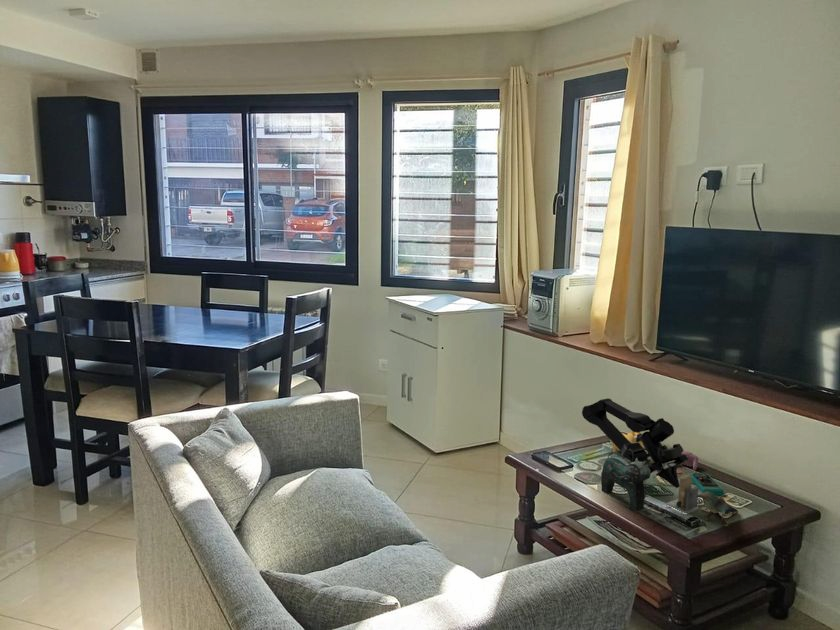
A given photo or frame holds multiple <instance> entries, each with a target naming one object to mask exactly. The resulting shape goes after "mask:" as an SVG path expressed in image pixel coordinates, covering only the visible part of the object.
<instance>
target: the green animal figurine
mask: <svg viewBox="0 0 840 630" xmlns="http://www.w3.org/2000/svg"><path fill="white" fill-rule="evenodd" d="M628 450H629V451H631V452H632V450H631V449H628ZM628 450H626V452H627V451H628ZM613 454H617V455H615V456H611V455H613ZM632 454H633V452H632ZM610 456H611V457H610ZM648 465H649V464H648V461H647V462H646V461H644V462H639V461H638V459H637V458H636V459H635V461H634V462H633V459H632V461H629V460H628V459H626V458H624V457H623V456H622V455H621V452H620V453H619V452H618V451H617V452H613V451H611V452H610V453H609V454H608V456H607V459H606V460H604V462H603V466H602V469H601V473H600V477H601V478H600V483H601V485H600V486H601V492H603V493H604V494H606V495H609V494H612V493H613V489H614V486H615V484H617V485H618V486H619V487H620V488H623V489H625V490H626V492H627V494H628V497H629V508H630V509H633V510H634V511H636V512H637V511H638V512H639V511H642V510H644V509H645V507H644V506H645V499H646V498H645V497H646V495H645V482H644V481H647V480H648V479H650V477H651V475H650V473H651V471H650V468H649V467H648ZM651 474H652V473H651Z"/></svg>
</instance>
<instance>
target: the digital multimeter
mask: <svg viewBox="0 0 840 630" xmlns="http://www.w3.org/2000/svg"><path fill="white" fill-rule="evenodd" d="M689 476H692V483H693V484H694V485H695V487H698V488H699V489H698V491H700V493H701V494H702V493H704V492H706V491H709V492H711V493H713V494H714V495H716V496H717V497H720V496H724V492H725V491H724V489H723V488H722V487H721V486H720V485H719V484H718V483H717V482H716V481H715V480H714V479H713V478H712V477H711V476H710V474H708V473H705V472H704V473H703V472H694V473H690V474H689Z"/></svg>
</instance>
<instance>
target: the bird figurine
mask: <svg viewBox="0 0 840 630" xmlns="http://www.w3.org/2000/svg"><path fill="white" fill-rule="evenodd" d="M695 497H698V498H700V499H701V498H702V502H703V505H705V507H706V508H707V509H708V510H709V512H708V513H707V515H706V516H705V518H704V519H705V520H706V521H709V520H710V519H711V517H712V516H713V517H714V518H716V519H717V520H718V522H719V523H720V525H722V526H724V527H725V528H726V527H727V526H729V523H728V522H727V520H726V519H725V518H724V515H728V514H730V513H732V514H736V513H738V512H739V510H738V509H736V508H735V507H734V506H731V505H730V504H729V503H728V502H726V501H725V499H724V498H722V497H720V496H716V495H714V494H713V493H711V492H709V491H706V492H704V493H702V492H701V493H700V494H698V495H697V496H695Z"/></svg>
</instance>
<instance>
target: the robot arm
mask: <svg viewBox="0 0 840 630" xmlns="http://www.w3.org/2000/svg"><path fill="white" fill-rule="evenodd" d="M607 413H608V414H609V415H612V416H614V417H615V418H617V419H619V420H620V421H623V422H624V423H625V425H626V427H627V428H628V429H630V431H631V430H632V431H633V432H635V433H637V432H640V433H641V432H643V433H641V434H638V435H637V438H636V442H637V443H631V442H630V441H629V440H628V439H627V438H626V437H625V436H624V435H623V434H624V433H623V432H621V430H619V429H618V428H617V427H616V425H614V423H613V422H611V420H610V419H608V416H607V415H608V414H607ZM581 414H582V417H583V419H585V421H587V422H588V423H590V424H591V425H594V426H597V427H598V428H599V429H600V431H602V432H603V434H604V435H605V436H607V438H608V439H609V440H611V441H612V442H613V443H614V444H615V445H616V446H617V448H618V449H617V450H619V451H620V454H621V455H622V456H623V457H624V458H626V459H628V460H629V461H632V459H633V462H634V461H635V459H636V458H637V459H638V461H639V462H644V461H646V462H647V463H648V461H649V458H651V460H652V463H649V464H647V465H648V467H649V468H650V471H651V473H650V476H651V474H652V473H654V472H656V471H657V473H656V474H655V476H657V477H660V478H661V479H663V480H665V481H666V482H667V483H669V484H670V485H671V486H672V487H674V488H675V489H679V482H680V480H679V478H678V473H677V472H678V471H677V470H678V467H679V466H681V465H680V464H682V463H683V462H684V463H686V462H687V461H688V458H687V457H686V455H685V454H682V452H683V451H684V448H683V447H682V445H681V444H680V443H676V444H675V443H674V444H672V447H669V448H668V446H666V445H665V444H664V445H663V444H662V442H664V441H665V440H667V439H668V438H669V437H671V436H673V435H674V434H675V429H674V426H673V425H672V424H671V423H669V422H668V421H667V420H665V419H664V418H663V417H662V418H658V419H656V421H655V420H654V419H652V418H651V417H650V415H647V414H644V413H641V412H634V411H632V410H630V409H628V408H627V407H624V406H622V405H621V404H619V403H617V402H615V401H613V400H612V399H611V398H603V399H599V400H598V401H596V402H594V403H592V404H590V405H584V406H583V407H582V410H581ZM622 433H623V434H622ZM611 441H610V442H611ZM639 441H641V442H642V444H643V445H644V447H645V449H644V448H643V447H642V446H641V445H640V444H639V443H638V442H639ZM628 449H631V450H632V452H633V454H632V452H631V451H629V450H628ZM626 450H628V451H627V452H626ZM621 455H620V456H621ZM622 456H621V457H622Z"/></svg>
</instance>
